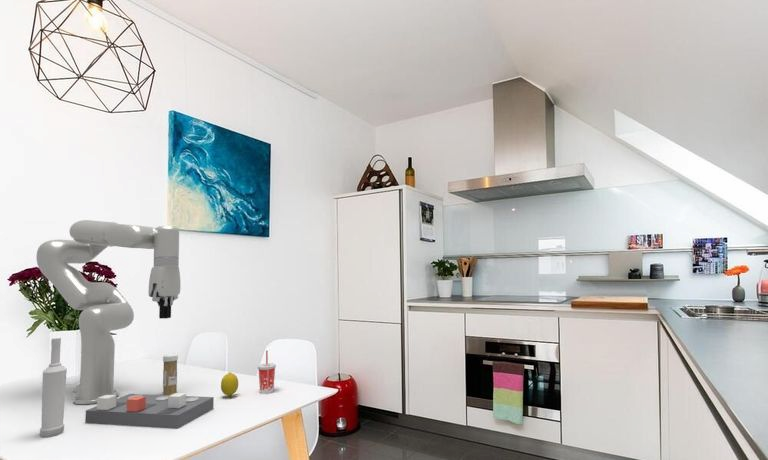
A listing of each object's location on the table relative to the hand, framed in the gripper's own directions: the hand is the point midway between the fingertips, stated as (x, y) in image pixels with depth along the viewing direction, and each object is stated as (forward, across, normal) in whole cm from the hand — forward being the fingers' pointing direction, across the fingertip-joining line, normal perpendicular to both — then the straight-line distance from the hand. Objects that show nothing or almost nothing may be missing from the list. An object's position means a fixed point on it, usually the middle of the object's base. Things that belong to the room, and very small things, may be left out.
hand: (165, 318), depth 139 cm
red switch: (+23, +18, +6) cm, 30 cm away
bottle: (+27, +28, -11) cm, 41 cm away
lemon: (+27, -8, +19) cm, 34 cm away
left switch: (+23, +18, -4) cm, 30 cm away
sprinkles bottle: (+27, -8, -4) cm, 29 cm away
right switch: (+23, +14, +16) cm, 32 cm away
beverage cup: (+27, -15, +29) cm, 43 cm away
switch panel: (+27, +12, +6) cm, 30 cm away
